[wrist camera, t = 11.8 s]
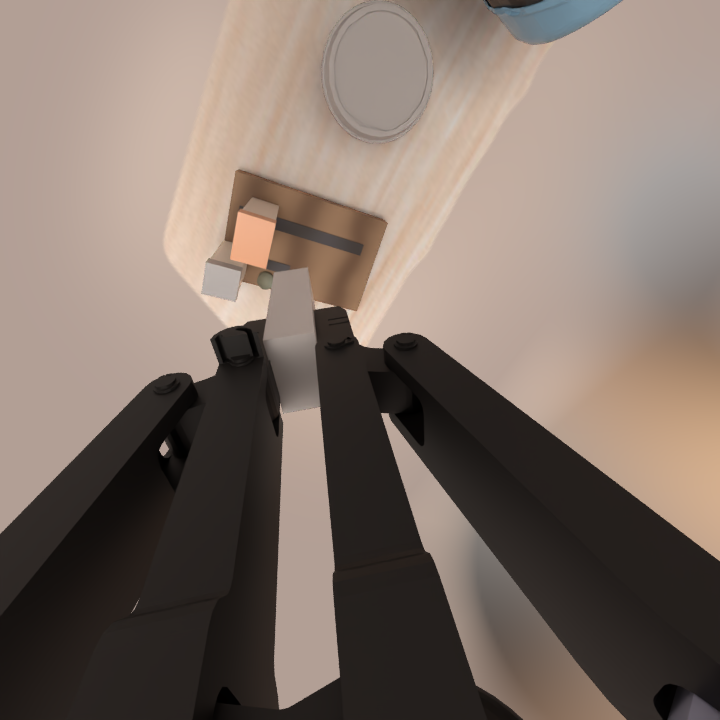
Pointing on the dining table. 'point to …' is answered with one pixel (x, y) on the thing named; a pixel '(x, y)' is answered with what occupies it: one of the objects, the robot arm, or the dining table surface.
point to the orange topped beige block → (254, 233)
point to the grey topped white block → (223, 274)
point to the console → (312, 240)
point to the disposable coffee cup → (377, 71)
